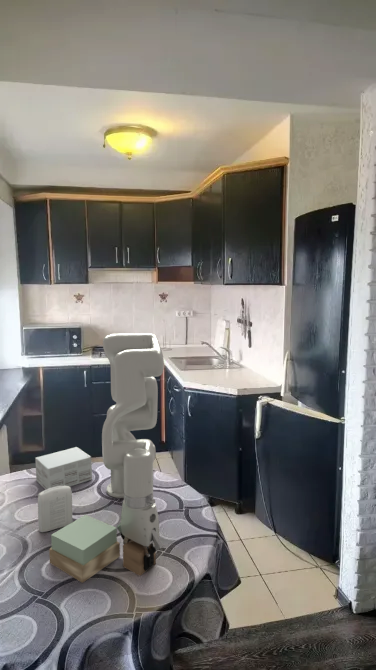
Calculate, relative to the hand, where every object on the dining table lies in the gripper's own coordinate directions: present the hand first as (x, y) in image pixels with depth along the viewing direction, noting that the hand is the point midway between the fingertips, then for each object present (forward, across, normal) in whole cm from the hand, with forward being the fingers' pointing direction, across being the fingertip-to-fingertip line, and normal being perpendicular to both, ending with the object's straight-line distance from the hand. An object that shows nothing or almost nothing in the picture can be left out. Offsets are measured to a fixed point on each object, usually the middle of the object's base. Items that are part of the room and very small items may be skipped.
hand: (139, 562), depth 114 cm
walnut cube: (+1, 0, 0) cm, 1 cm away
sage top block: (-3, +13, +7) cm, 15 cm away
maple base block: (+1, +13, +7) cm, 15 cm away
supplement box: (+1, +57, -19) cm, 60 cm away
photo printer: (+1, +33, +2) cm, 33 cm away
